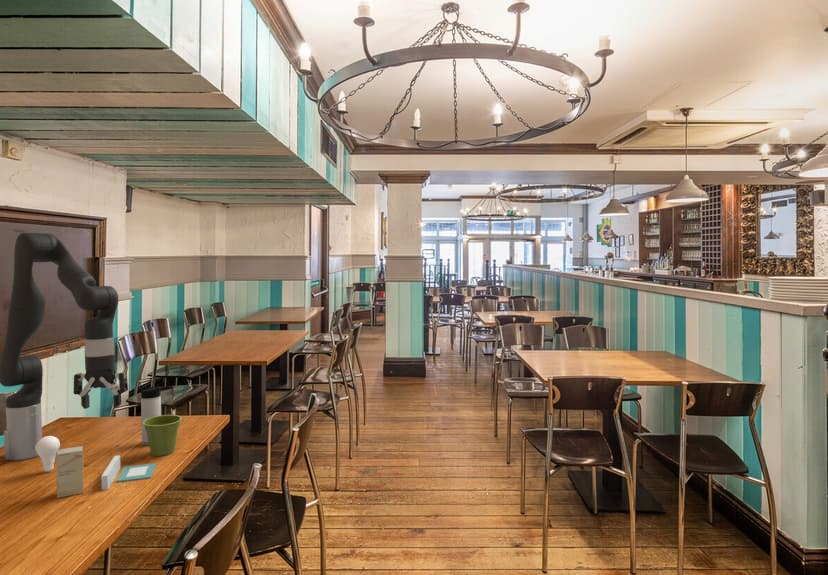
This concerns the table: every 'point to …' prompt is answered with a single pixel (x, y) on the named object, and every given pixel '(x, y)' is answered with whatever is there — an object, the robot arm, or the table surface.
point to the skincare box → (69, 471)
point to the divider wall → (110, 472)
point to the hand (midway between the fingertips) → (101, 407)
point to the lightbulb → (47, 451)
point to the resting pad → (137, 472)
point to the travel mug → (149, 407)
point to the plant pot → (162, 433)
